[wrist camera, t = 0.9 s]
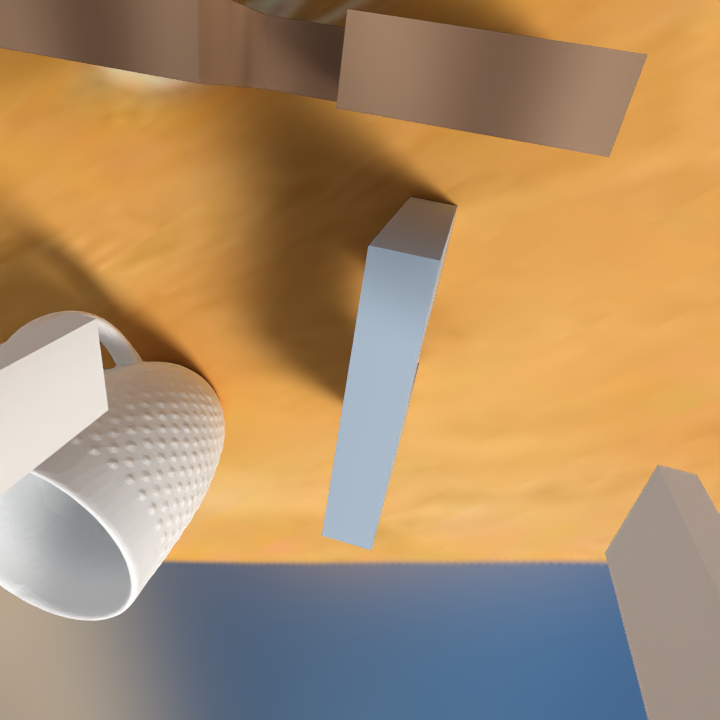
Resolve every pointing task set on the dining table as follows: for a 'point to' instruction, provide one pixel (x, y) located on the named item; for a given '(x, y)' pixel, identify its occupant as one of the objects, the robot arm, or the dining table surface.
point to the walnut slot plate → (351, 63)
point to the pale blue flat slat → (384, 363)
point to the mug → (112, 488)
